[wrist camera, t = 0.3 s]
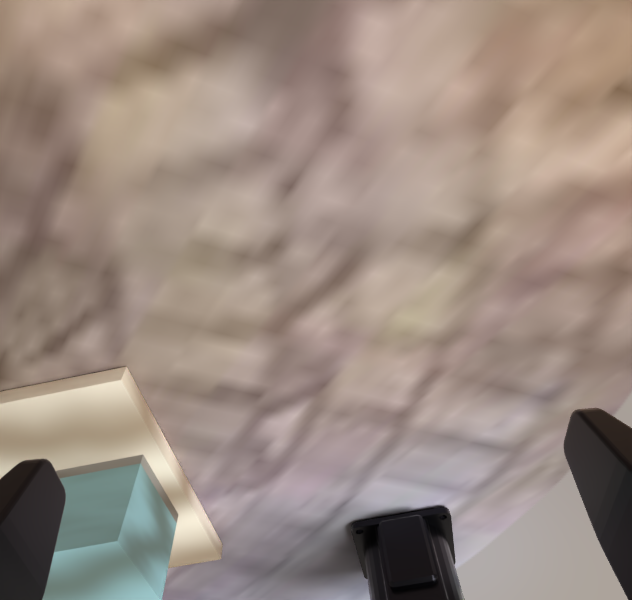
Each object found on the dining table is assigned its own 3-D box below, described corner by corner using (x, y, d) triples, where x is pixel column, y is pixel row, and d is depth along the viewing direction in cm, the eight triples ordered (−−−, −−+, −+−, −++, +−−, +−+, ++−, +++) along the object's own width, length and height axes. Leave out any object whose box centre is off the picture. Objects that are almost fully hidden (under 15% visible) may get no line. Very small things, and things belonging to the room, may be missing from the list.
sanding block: (178, 514, 30) (161, 600, 26) (37, 539, 31) (-2, 628, 27) (143, 454, 27) (117, 541, 23) (-12, 483, 28) (-65, 573, 24)
